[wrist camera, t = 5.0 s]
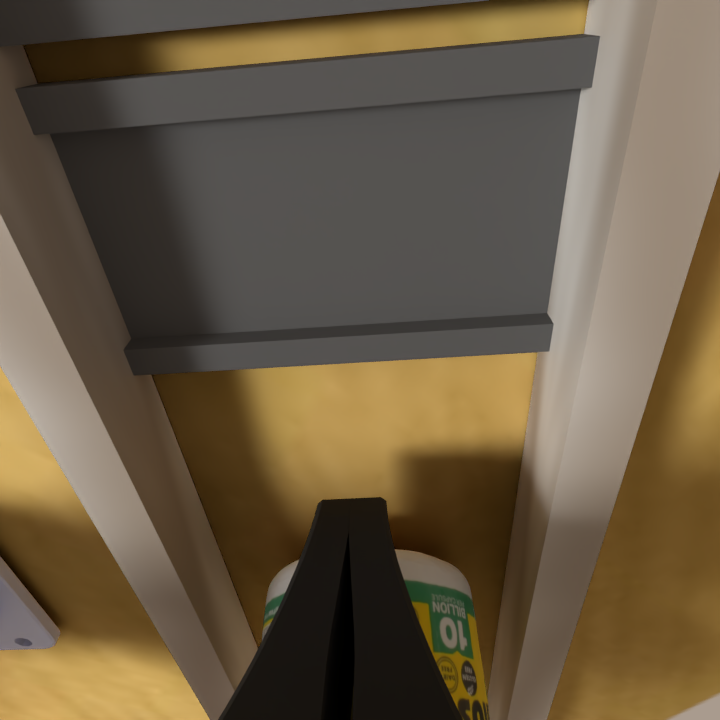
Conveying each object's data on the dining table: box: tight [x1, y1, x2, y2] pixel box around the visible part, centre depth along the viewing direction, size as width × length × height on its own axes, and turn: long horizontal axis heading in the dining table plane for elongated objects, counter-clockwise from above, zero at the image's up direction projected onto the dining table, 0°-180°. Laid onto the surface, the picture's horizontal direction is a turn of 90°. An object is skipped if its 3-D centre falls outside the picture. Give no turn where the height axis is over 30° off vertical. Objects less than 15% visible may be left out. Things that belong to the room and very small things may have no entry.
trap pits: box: [0, 0, 600, 376], centre depth 7 cm, size 8×10×1 cm
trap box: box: [0, 0, 720, 720], centre depth 12 cm, size 10×30×3 cm, turn 4°
